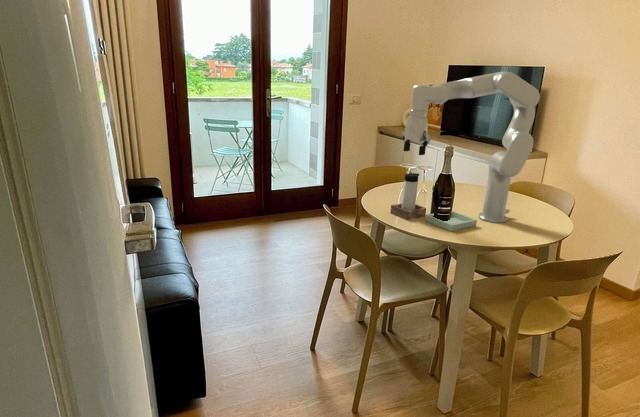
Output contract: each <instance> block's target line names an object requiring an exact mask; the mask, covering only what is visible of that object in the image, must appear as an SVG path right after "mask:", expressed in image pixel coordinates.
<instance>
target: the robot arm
mask: <svg viewBox="0 0 640 417" xmlns="http://www.w3.org/2000/svg"><path fill="white" fill-rule="evenodd" d="M500 93H502V94H504V95H505V96H506V97H508V99H509V103H510V104H511V105H512V107H513V116H512V117H511V121H510V123H509V124H508V127H507V129H506V131H505V132H504V135H503V137H502V140H501V141H502V142H501V144H502V146H503V147H504V148H505V149H506V150H505V151H504V150H503V151H502V150H500V151H497V152H494V153H492V155H491V156H490V158H489V162H488V176H487V177H488V178H487V184H486V190H485V195H484V200H483V202H484V203H483V208H482V212H479V213H478V218H479V219H480V220H482V221H485V222H489V223H495V224H496V223H497V224H502V223H507V221H508V217H507V216H506V214H509V213H510V212H511V210H510V208H507V202H508V198H509V190H510V186H511V178H513V177H515V176H517V175H519V174H520V172H521V170H522V169H523V168H524V165H525V164H526V162H527V160H528V158H529V156H530V154H531V152H532V150H533V148H534V138H533V136H532V134H531V133H529V132H530V130H531V128H532V125H533V123H534V120H535V116H536V109H535V106H537V105H538V103H539V102H540V99H541V95H540V94H541V93H540V92H539V90H538V89H537V88H536V87H535V86H533V85H532V84H530V83H528V82H527V81H526V80H524V79H522V78H521V77H520V76H519V75H517V74H515V73H513V72H511V71H497V72H493V73H486V74H483V75H482V74H481V75H476V76H472V77H467V78H463V79H459V80H453V81H448V82H443V83H439V84H433V85H431V86H429V85H426V84H425V85H424V84H416V85H413V87H412V91H411V100H410V109H409V113H408V114H409V116H408V117H407V118H406V123H405V127H404V128H405V129H404V130H403V131H401V134H402V140H403V151H404V152H410V149H411V141H413V142H419V144H420V145H419V149H418V156H425V155H426V148H427V146H428V144H430V141H431V139H432V137H431V136H430V134H428V130H429V128H428V127H429V125H428V123H429V122H428V119H429V118H428V114H429V113H428V112H429V103H431V104H432V103H433V104H438V105H442V104H444V103H446V102H447V101H448V100H454V99H474V98H479V97H484V96H488V95H489V96H490V95H494V94H500Z"/></svg>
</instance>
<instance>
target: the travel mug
mask: <svg viewBox="0 0 640 417" xmlns="http://www.w3.org/2000/svg"><path fill="white" fill-rule="evenodd" d="M419 177H420V173H415V172H414V173H410V172H409V173H406V174H405V175H404V179H403V189H402V197H401V198H402V200H401V203H402V207H401V208H402V209H404V210H406V211H409V210H415V204H416V202H417V194H418V187H419V186H418V185H419Z"/></svg>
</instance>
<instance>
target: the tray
mask: <svg viewBox="0 0 640 417" xmlns="http://www.w3.org/2000/svg"><path fill="white" fill-rule="evenodd" d="M433 216H434V213H431V214H426V216H425V222H426V223H429V224H431V225H434V226H436V227H438V228H441V229H443V230H445V231H447V232H449V233H454V232H457V231H462V230H465V229H470V228H474V227H476V226H477V222H478V221H477V219H475V218H474V217H470V216H467V215H464V214H463V213H460V212H456V211H455V210H452V212H451V218H450V220H448V221H442V220H440V219H437V218H435V217H433Z"/></svg>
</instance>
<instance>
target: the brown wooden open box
mask: <svg viewBox="0 0 640 417" xmlns="http://www.w3.org/2000/svg"><path fill="white" fill-rule="evenodd" d="M401 207H402V202H401V203H396V204H392V205H390V214H392V215H393V216H396V217H397V218H401V219H403V220H405V221H409V220H413V219H420V218H424V217H425V218H426V215H427V207H424V206H421V205H419V204H415V210H409V211H406V210H404V209H402V208H401Z"/></svg>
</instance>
